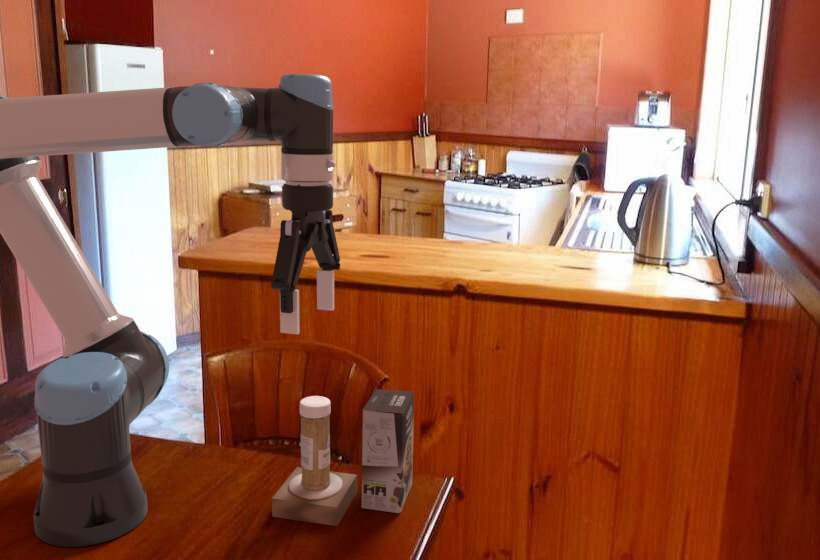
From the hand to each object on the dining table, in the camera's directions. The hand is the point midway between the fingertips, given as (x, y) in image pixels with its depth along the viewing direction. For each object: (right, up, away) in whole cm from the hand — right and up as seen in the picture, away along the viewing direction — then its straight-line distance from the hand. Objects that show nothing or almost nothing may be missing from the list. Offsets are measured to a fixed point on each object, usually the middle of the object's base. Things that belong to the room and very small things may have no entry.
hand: (308, 320), depth 114 cm
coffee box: (+12, -28, +1) cm, 30 cm away
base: (+1, -28, -1) cm, 28 cm away
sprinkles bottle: (+1, -25, -2) cm, 25 cm away
